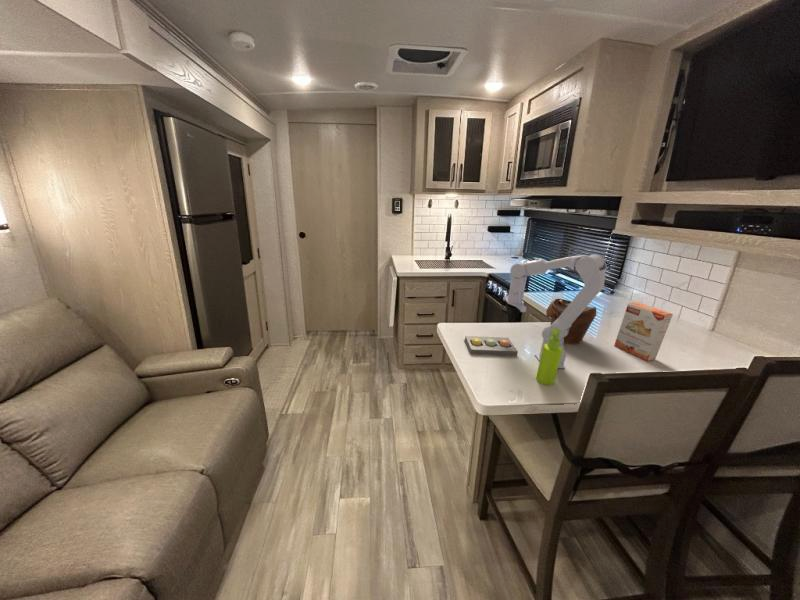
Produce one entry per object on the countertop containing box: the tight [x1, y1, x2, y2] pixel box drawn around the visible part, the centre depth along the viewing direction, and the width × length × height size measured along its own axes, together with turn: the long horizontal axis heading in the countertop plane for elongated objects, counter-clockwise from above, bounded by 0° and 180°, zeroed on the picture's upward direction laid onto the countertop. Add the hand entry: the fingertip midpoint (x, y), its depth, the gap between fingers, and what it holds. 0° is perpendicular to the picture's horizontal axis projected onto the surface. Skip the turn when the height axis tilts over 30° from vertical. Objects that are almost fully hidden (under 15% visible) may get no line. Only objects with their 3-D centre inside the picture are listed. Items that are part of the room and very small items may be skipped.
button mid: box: [486, 339, 496, 346], centre depth 128 cm, size 4×4×3 cm
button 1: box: [471, 338, 482, 346], centre depth 128 cm, size 4×4×3 cm
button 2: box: [499, 339, 511, 347], centre depth 128 cm, size 4×4×3 cm
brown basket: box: [545, 298, 597, 345], centre depth 138 cm, size 18×20×18 cm
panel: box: [464, 335, 519, 357], centre depth 128 cm, size 12×19×2 cm, turn 90°
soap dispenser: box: [535, 328, 562, 386], centre depth 104 cm, size 6×7×20 cm
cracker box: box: [613, 301, 673, 362], centre depth 127 cm, size 14×6×21 cm, turn 23°
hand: (510, 321), depth 130 cm, fingers closed
